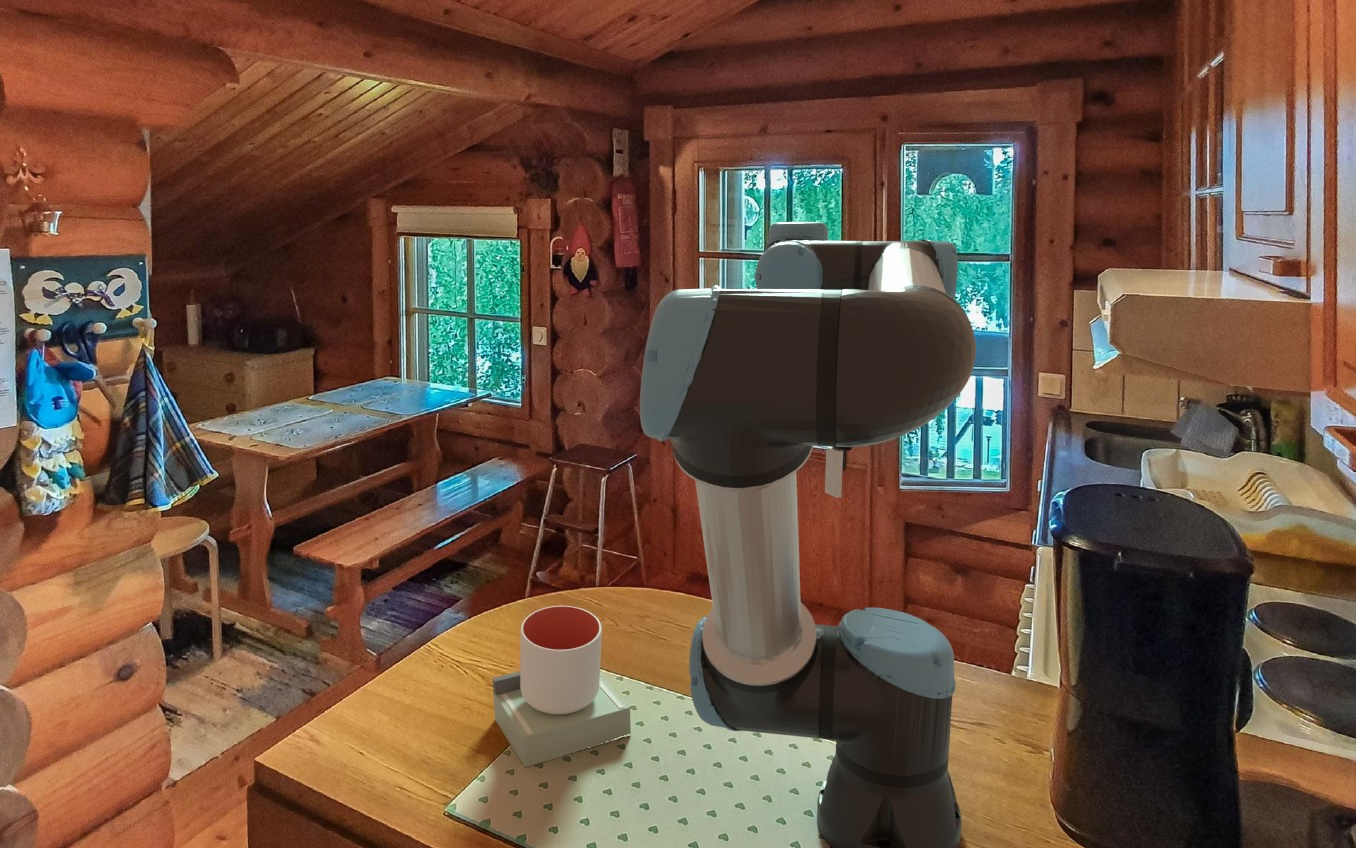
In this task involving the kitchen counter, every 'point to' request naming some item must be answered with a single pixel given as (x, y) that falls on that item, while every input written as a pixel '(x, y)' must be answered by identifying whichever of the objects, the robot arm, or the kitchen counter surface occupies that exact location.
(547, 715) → the dock
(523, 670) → the cup
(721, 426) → the robot arm
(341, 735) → the kitchen counter surface
